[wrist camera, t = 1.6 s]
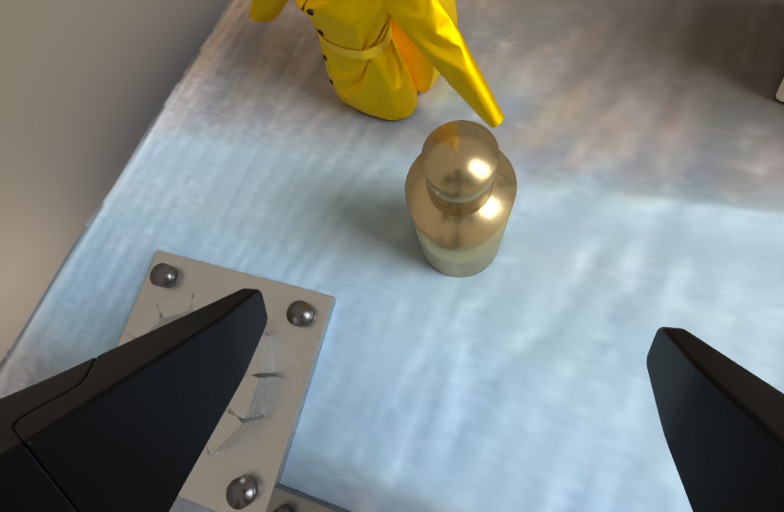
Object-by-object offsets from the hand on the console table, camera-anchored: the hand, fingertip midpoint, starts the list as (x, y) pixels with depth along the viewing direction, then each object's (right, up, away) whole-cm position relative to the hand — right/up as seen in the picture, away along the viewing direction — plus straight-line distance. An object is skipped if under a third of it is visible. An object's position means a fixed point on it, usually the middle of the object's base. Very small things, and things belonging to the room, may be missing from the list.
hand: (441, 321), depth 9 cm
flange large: (-12, -5, +14) cm, 19 cm away
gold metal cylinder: (+3, +2, +13) cm, 14 cm away
